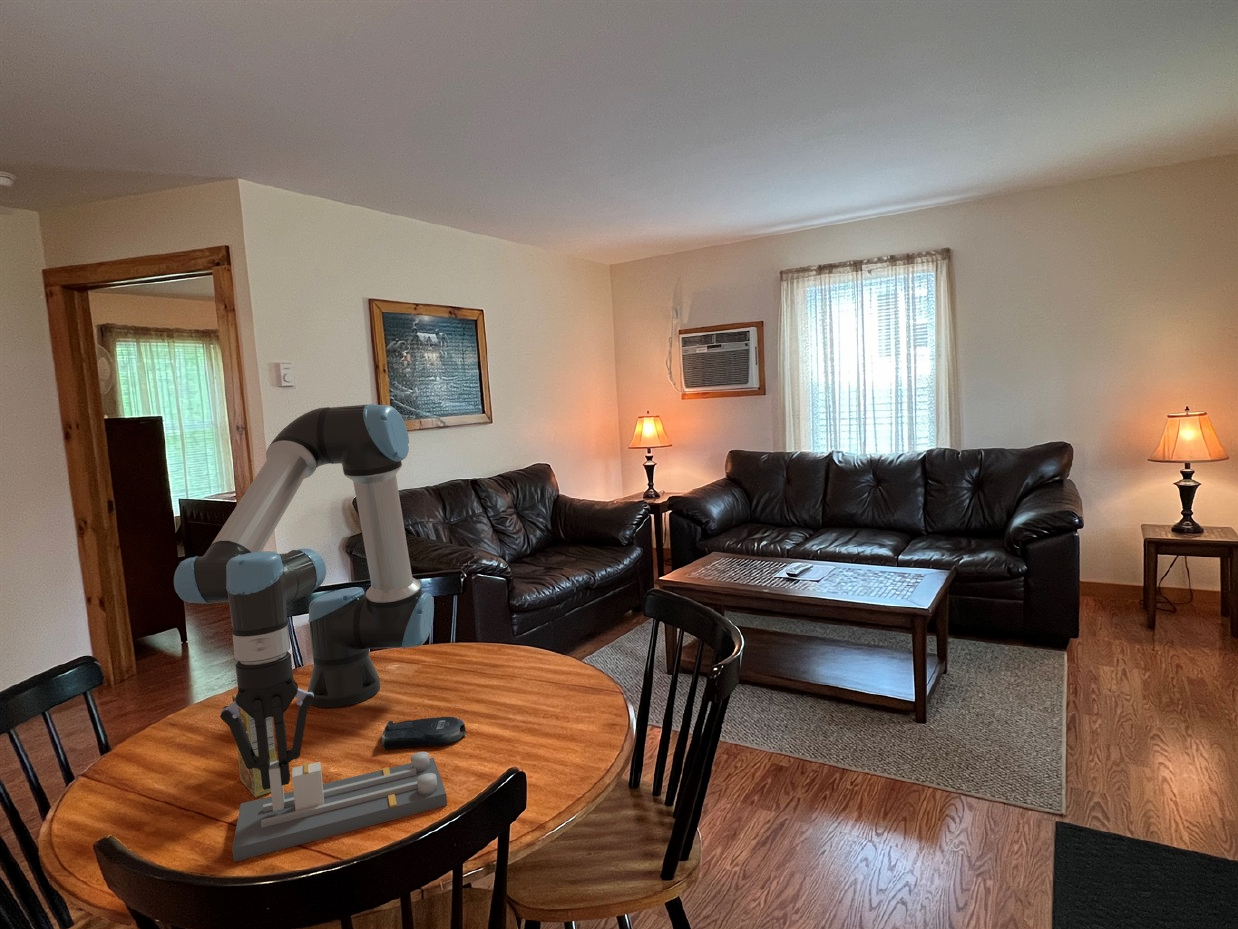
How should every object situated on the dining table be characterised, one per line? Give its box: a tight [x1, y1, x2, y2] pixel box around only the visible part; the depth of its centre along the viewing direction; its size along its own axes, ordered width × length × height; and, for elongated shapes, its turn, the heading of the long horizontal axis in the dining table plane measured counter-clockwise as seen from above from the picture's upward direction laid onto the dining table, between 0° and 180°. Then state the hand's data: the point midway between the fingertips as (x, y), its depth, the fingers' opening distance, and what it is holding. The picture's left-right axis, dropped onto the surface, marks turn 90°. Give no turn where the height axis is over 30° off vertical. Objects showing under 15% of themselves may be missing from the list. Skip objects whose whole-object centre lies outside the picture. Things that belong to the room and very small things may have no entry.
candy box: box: [232, 693, 278, 799], centre depth 123 cm, size 9×4×15 cm, turn 43°
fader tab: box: [291, 761, 324, 811], centre depth 112 cm, size 3×4×6 cm
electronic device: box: [380, 716, 467, 751], centre depth 138 cm, size 9×6×15 cm
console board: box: [232, 751, 448, 863], centre depth 114 cm, size 13×30×4 cm, turn 113°
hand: (278, 805), depth 110 cm, fingers closed
